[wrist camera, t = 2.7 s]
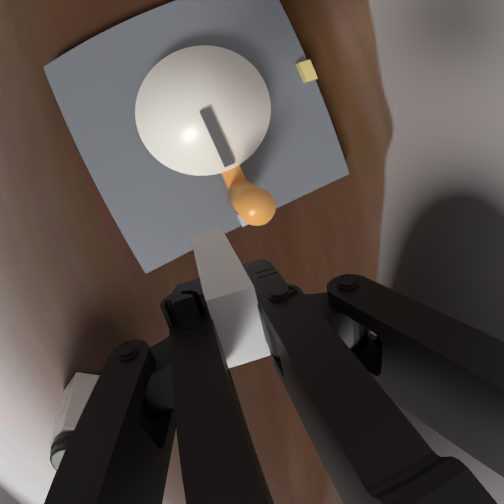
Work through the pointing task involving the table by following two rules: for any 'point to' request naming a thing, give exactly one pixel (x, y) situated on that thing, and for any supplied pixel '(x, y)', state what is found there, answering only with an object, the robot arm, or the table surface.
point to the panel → (154, 172)
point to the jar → (70, 413)
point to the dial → (208, 120)
